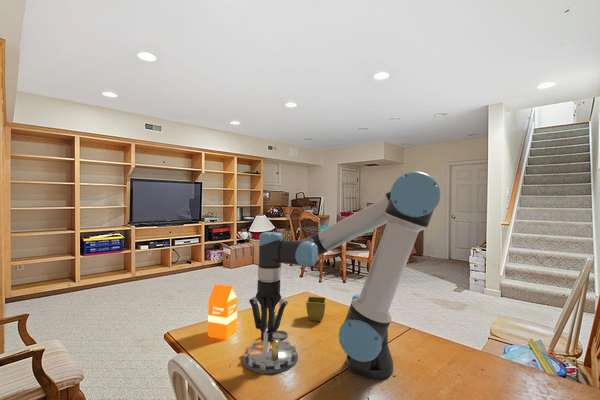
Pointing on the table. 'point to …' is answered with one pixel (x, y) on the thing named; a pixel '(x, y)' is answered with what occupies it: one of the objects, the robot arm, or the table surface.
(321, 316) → the flower pot
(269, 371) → the base plate
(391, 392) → the table surface
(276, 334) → the pocket watch
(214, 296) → the orange juice
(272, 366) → the sprocket
